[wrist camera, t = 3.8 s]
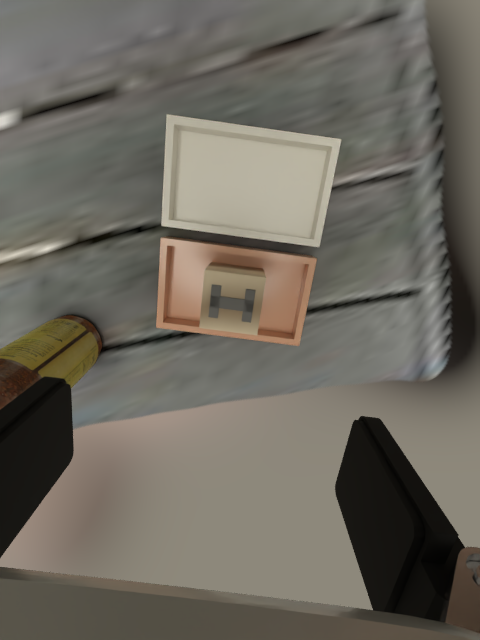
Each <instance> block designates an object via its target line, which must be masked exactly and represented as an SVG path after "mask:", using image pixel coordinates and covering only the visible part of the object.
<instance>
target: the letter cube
mask: <svg viewBox="0 0 480 640" xmlns="http://www.w3.org/2000/svg"><path fill="white" fill-rule="evenodd" d="M265 283H266V276H265V273H264V270H263V269H262V268H255V267H247V266H240V265H232V264H225V263H217V262H211V263H210V264H209V265H208V266H207V268H206V269H205V271H204V281H203V292H202V303H201V313H200V324H199V328H203V329H211V330H219V331H227V332H234V333H242V334H250V335H257V333H258V327H259V321H260V314H261V308H262V302H263V295H264V289H265Z"/></svg>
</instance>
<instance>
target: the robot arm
mask: <svg viewBox="0 0 480 640" xmlns="http://www.w3.org/2000/svg"><path fill="white" fill-rule="evenodd" d="M72 457H73V426H72V402H71V386H70V384H67V383H66V381H65V379H63V378H56V377H48V376H44V377H43V378H41V379H40V380H38V381H37V382H36V383H35V384H33V385H32V386H31V387H29V388H28V389H27V390H25V391H24V392H23V393H21V394H20V395H19V396H18V397H16V398H15V399H14V400H12V401H11V402H10V403H8V404H7V405H6V406H4V407H3V408H2V409H1V410H0V558H1V556H2V555H3V553H4V552H5V551H6V549H7V548H8V547H9V545H10V544H11V542H12V541H13V540H14V538H15V537H16V536H17V534H18V533H19V532H20V530H21V529H22V527H23V526H24V525H25V523H26V522H27V521H28V519H29V518H30V517H31V515H32V514H33V513H34V511H35V510H36V508H37V507H38V506H39V504H40V503H41V501H42V500H43V499H44V497H45V496H46V495H47V493H48V492H49V491H50V489H51V488H52V487H53V485H54V484H55V482H56V481H57V480H58V478H59V477H60V476H61V474H62V473H63V472H64V470H65V469H66V468H67V466H68V465H69V463H70V462H71V459H72ZM335 490H336V497H337V500H338V503H339V506H340V509H341V512H342V515H343V518H344V521H345V524H346V528H347V531H348V534H349V537H350V540H351V543H352V546H353V549H354V552H355V555H356V558H357V562H358V565H359V568H360V571H361V574H362V577H363V580H364V583H365V586H366V589H367V592H368V596H369V599H370V602H371V605H372V608H373V610H366V609H359V608H352V607H345V606H337V605H329V604H321V603H313V602H304V601H296V600H288V599H279V598H271V597H263V596H254V595H246V594H238V593H229V592H220V591H212V590H204V589H194V588H186V587H178V586H169V585H159V584H151V583H142V582H133V581H125V580H116V579H107V578H98V577H88V576H80V575H70V574H61V573H51V572H43V571H33V570H24V569H14V568H5V567H0V640H480V548H477V547H466V548H465V547H464V545H463V544H462V542H461V541H460V539H459V538H458V534H457V532H456V531H455V529H454V528H453V526H452V525H451V524H450V522H449V520H448V519H447V517H446V516H445V514H444V513H443V511H442V510H441V508H440V507H439V505H438V504H437V502H436V501H435V499H434V498H433V496H432V495H431V493H430V492H429V490H428V489H427V488H426V486H425V485H424V483H423V482H422V480H421V479H420V477H419V476H418V474H417V473H416V471H415V470H414V469H413V467H412V465H411V464H410V462H409V461H408V459H407V458H406V456H405V455H404V453H403V452H402V450H401V449H400V447H399V446H398V444H397V443H396V442H395V440H394V439H393V437H392V436H391V434H390V432H389V431H388V430H387V428H386V427H385V425H384V424H383V422H382V421H381V420H380V419H379V418H372V417H365V416H361V417H360V418H359V420H355V421H354V422H353V424H352V428H351V431H350V435H349V438H348V442H347V446H346V449H345V452H344V457H343V460H342V463H341V467H340V470H339V474H338V477H337V481H336V485H335Z"/></svg>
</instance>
